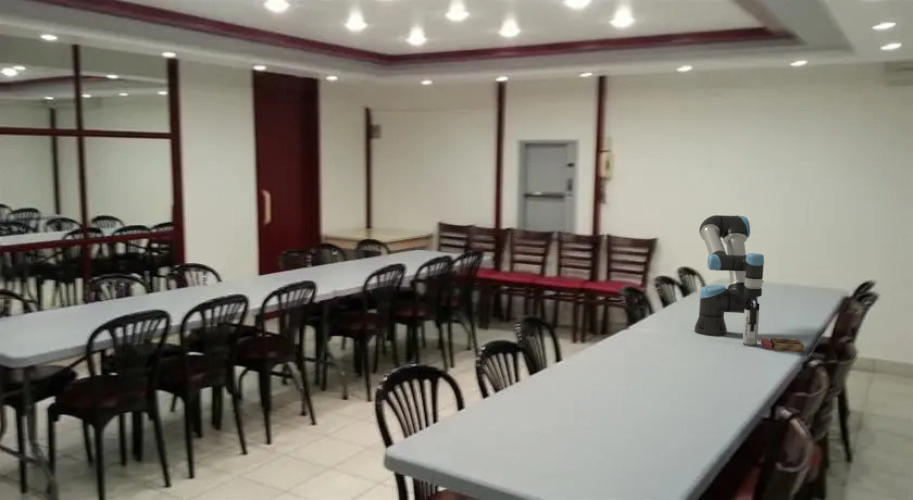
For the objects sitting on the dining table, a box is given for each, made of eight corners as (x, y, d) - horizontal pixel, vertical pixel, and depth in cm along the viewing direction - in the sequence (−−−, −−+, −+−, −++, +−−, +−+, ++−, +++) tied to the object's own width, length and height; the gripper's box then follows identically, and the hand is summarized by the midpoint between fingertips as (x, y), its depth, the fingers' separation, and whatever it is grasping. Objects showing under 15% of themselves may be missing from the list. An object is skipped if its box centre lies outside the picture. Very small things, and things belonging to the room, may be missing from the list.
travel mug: (754, 343, 333) (757, 301, 331) (758, 346, 327) (761, 303, 324) (740, 342, 334) (743, 300, 331) (744, 346, 327) (747, 303, 325)
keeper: (773, 350, 320) (774, 343, 320) (768, 343, 333) (769, 337, 332) (805, 352, 317) (805, 346, 317) (798, 345, 330) (799, 339, 329)
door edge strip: (764, 349, 322) (765, 343, 322) (760, 342, 334) (761, 337, 333) (772, 349, 321) (772, 344, 321) (767, 343, 333) (767, 338, 333)
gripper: (765, 291, 317) (762, 341, 320) (758, 284, 335) (755, 332, 338) (747, 290, 319) (744, 340, 321) (741, 283, 337) (738, 331, 340)
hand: (750, 336), depth 330 cm, fingers closed on travel mug, 6 cm apart
